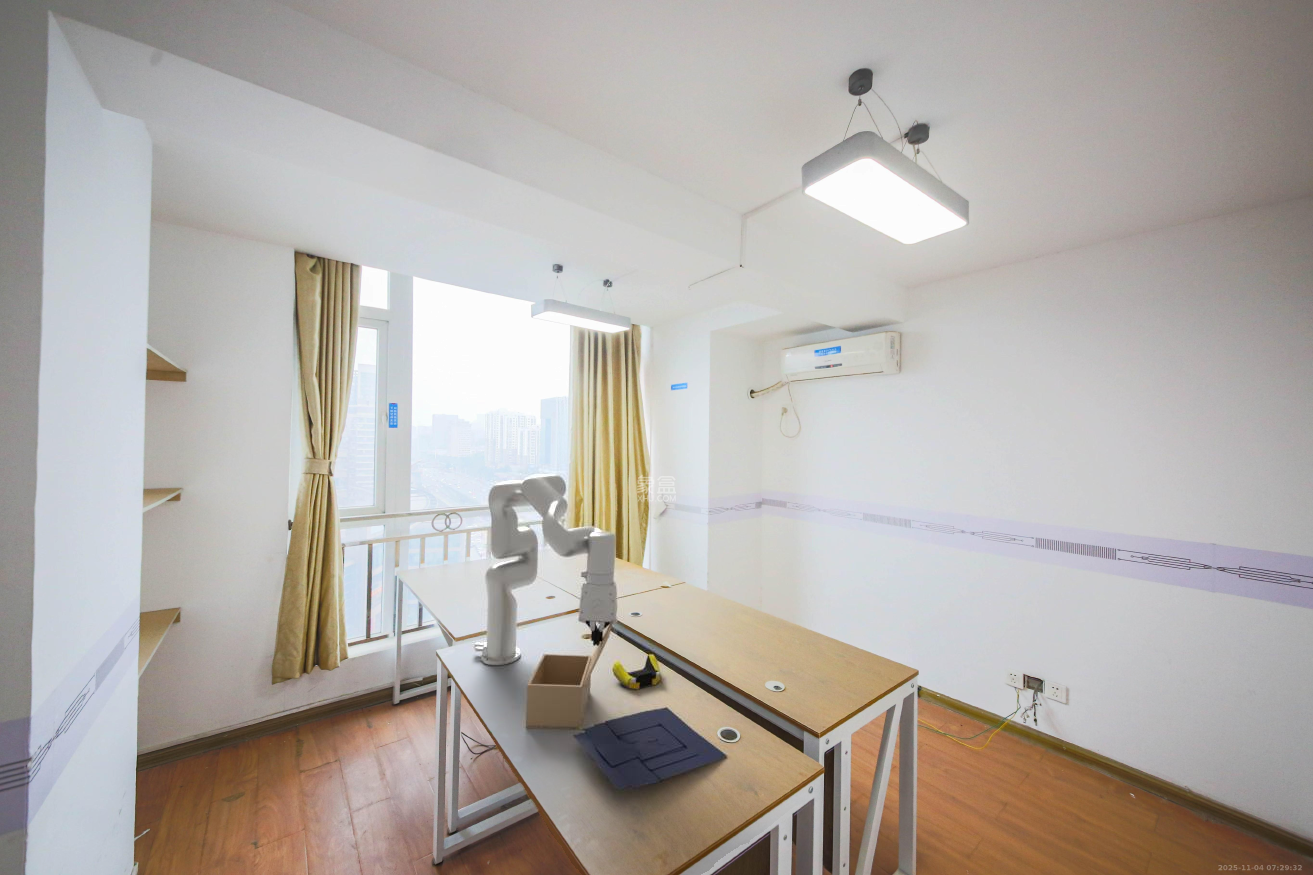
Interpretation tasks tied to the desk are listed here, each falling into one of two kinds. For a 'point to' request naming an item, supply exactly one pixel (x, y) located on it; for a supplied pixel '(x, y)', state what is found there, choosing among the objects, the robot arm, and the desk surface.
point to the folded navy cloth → (646, 747)
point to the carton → (558, 692)
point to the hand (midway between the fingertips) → (596, 643)
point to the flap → (598, 652)
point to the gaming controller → (638, 674)
